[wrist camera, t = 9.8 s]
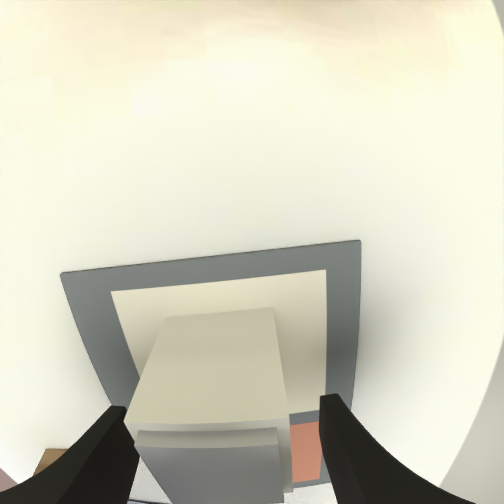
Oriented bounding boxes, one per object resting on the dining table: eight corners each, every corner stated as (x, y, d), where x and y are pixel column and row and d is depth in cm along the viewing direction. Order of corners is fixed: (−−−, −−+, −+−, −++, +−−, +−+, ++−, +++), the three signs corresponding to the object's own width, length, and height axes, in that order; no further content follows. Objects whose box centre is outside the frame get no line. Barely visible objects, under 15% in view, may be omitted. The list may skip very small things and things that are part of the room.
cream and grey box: (279, 387, 14) (294, 505, 8) (188, 393, 14) (167, 507, 8) (272, 307, 13) (291, 434, 7) (165, 317, 13) (117, 436, 7)
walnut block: (109, 477, 18) (97, 515, 15) (76, 476, 19) (63, 509, 15) (78, 448, 17) (60, 488, 13) (46, 447, 17) (29, 482, 14)
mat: (338, 478, 18) (338, 481, 18) (164, 488, 18) (163, 491, 18) (359, 239, 12) (361, 241, 12) (61, 272, 13) (59, 274, 12)
